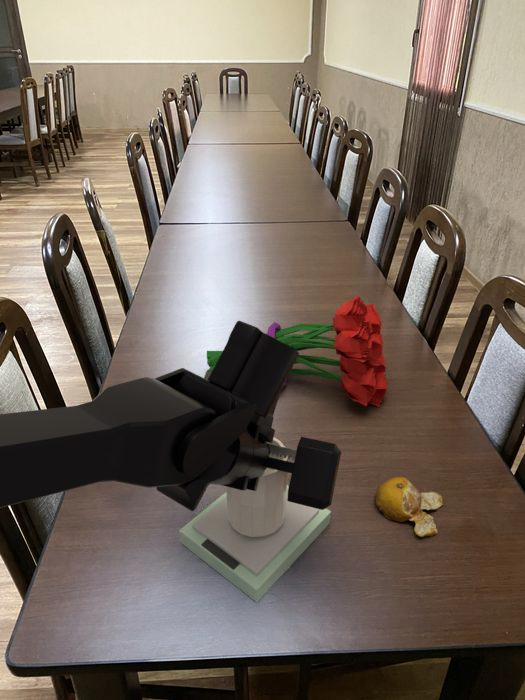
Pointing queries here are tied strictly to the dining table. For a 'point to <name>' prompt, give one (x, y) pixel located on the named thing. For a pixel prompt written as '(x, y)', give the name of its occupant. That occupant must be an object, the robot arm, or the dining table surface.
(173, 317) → the dining table surface
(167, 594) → the dining table surface
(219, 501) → the scale
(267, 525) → the cream faceted cup
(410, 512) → the fruit
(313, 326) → the bouquet
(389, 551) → the dining table surface
